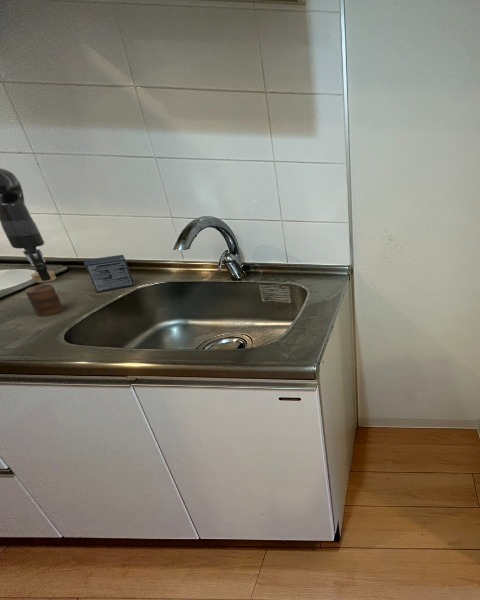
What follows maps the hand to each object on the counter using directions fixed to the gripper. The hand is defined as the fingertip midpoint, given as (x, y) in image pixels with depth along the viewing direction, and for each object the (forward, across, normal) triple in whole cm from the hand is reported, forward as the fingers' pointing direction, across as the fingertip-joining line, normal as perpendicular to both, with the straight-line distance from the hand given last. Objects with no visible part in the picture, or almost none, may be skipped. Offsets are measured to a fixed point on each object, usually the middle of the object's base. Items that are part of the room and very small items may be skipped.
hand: (44, 276), depth 111 cm
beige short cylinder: (+1, 0, 0) cm, 1 cm away
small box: (+1, +22, +14) cm, 27 cm away
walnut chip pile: (+1, +32, -4) cm, 32 cm away
